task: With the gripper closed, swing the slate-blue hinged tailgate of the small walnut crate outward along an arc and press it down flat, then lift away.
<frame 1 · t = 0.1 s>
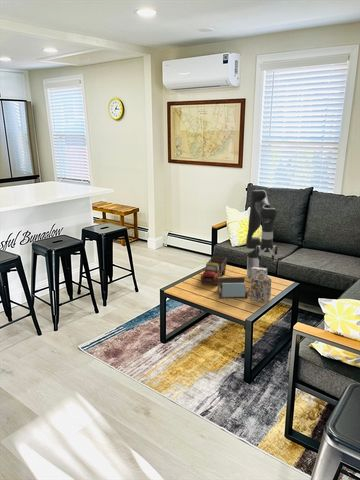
hand: (265, 260, 254), 29 cm above the table, fingers open, 8 cm apart
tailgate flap: (233, 289, 262), point 7 cm above the table, hinge at 0.0°
walnut crate: (232, 293, 273), on the table
toy truck: (214, 279, 302), on the table
candy bar box: (258, 288, 281), on the table
decorative jar: (260, 298, 265), on the table
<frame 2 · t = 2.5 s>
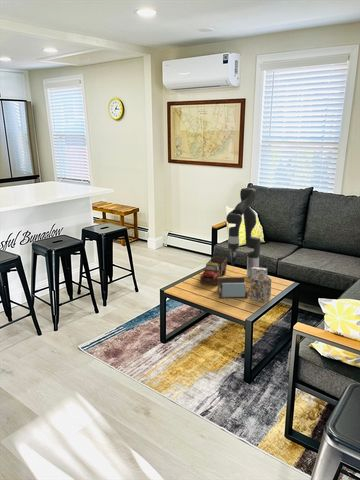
hand: (232, 265, 265), 23 cm above the table, fingers closed
nothing on the table moved.
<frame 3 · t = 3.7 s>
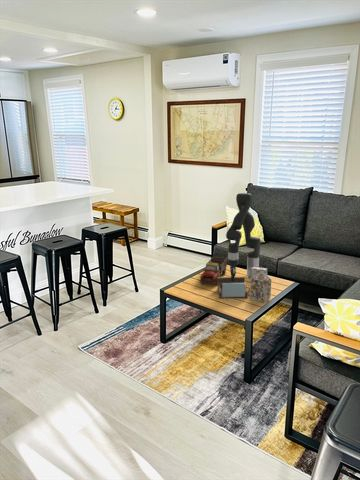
hand: (232, 280, 268), 11 cm above the table, fingers closed
nothing on the table moved.
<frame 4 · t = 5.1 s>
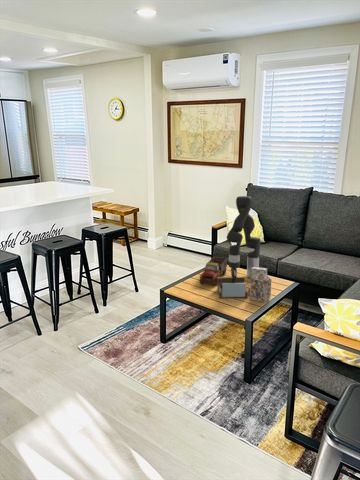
hand: (233, 283, 263), 11 cm above the table, fingers closed
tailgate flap: (233, 289, 262), point 7 cm above the table, hinge at 0.4°, touching gripper
everything else where it was.
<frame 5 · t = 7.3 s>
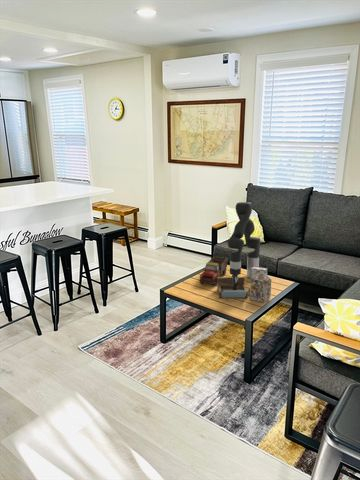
hand: (234, 290, 257), 8 cm above the table, fingers closed
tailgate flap: (234, 294, 260), point 5 cm above the table, hinge at 42.5°, touching gripper
everything else where it was.
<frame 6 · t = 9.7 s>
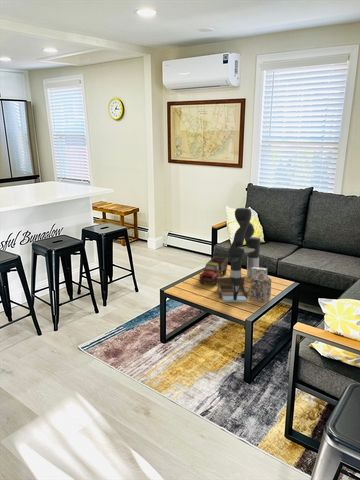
hand: (235, 299, 256), 3 cm above the table, fingers closed
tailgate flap: (234, 298, 259), point 2 cm above the table, hinge at 81.5°, touching gripper
everything else where it was.
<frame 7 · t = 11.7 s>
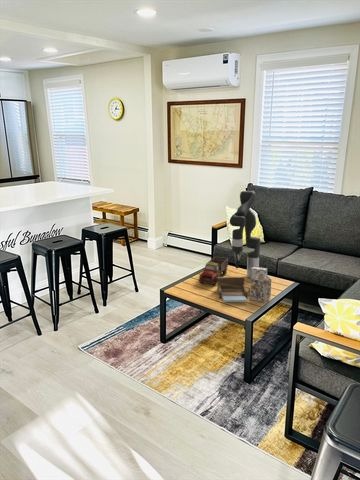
hand: (237, 267, 261), 22 cm above the table, fingers closed
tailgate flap: (234, 298, 259), point 2 cm above the table, hinge at 81.5°
everything else where it was.
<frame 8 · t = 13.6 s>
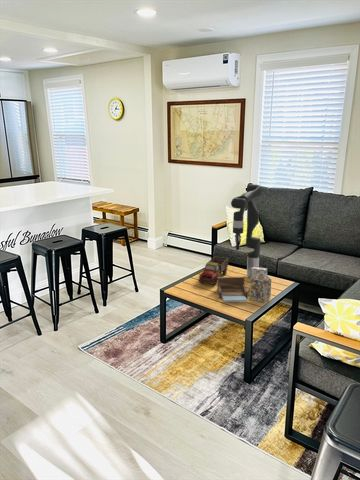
hand: (237, 249, 270), 32 cm above the table, fingers closed
at the end: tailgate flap at +82° (first picture: +0°) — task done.
